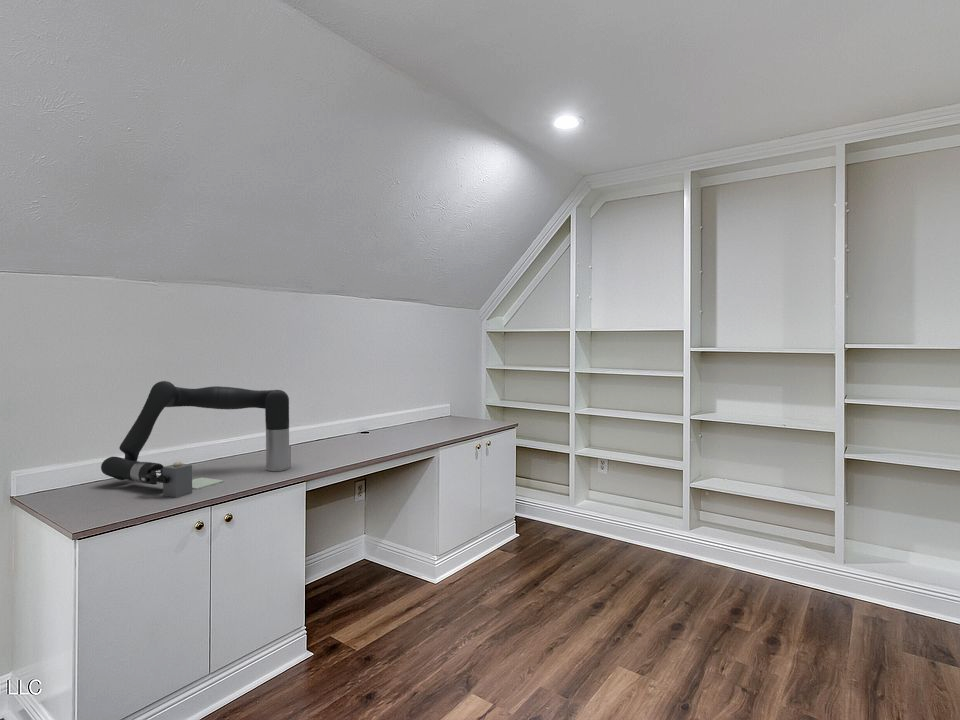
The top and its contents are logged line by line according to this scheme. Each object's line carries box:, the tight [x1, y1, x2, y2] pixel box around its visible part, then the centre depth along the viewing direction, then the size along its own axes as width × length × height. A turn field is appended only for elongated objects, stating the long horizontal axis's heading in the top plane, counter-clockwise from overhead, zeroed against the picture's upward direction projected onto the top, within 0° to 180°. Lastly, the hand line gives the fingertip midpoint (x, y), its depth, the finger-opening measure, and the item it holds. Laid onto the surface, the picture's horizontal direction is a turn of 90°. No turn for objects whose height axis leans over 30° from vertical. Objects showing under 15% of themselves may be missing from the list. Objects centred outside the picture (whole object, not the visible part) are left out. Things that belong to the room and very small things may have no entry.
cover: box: [162, 461, 193, 498], centre depth 194 cm, size 6×6×11 cm
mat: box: [192, 477, 225, 490], centre depth 208 cm, size 12×12×1 cm
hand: (179, 477), depth 194 cm, fingers open, 8 cm apart
